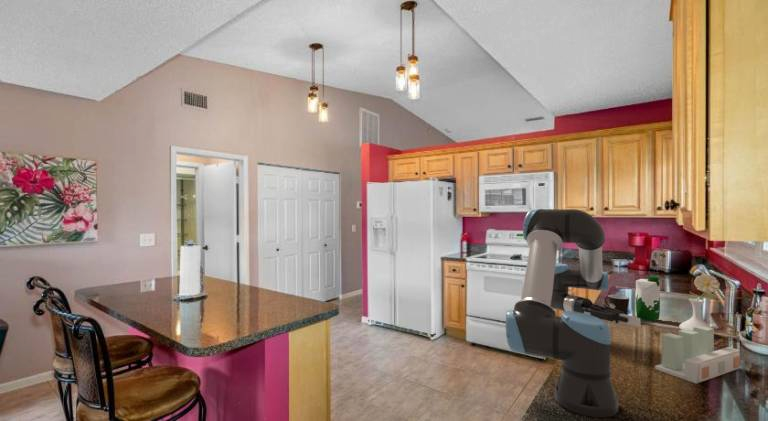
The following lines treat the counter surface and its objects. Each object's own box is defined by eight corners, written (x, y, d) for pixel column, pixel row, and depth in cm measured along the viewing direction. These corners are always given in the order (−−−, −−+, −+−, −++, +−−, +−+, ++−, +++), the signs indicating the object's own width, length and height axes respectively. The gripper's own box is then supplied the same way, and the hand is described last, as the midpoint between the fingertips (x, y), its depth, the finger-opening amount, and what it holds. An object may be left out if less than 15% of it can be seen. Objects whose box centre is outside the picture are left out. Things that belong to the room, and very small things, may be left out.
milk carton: (656, 322, 172) (656, 278, 172) (633, 318, 179) (633, 276, 179) (662, 319, 178) (662, 276, 178) (639, 314, 185) (639, 273, 185)
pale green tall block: (675, 370, 119) (675, 338, 119) (661, 365, 123) (661, 334, 123) (682, 367, 121) (683, 336, 121) (669, 363, 125) (669, 332, 125)
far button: (707, 360, 127) (707, 330, 127) (693, 356, 130) (693, 327, 130) (713, 358, 129) (713, 328, 128) (699, 354, 132) (699, 325, 132)
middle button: (691, 365, 123) (691, 334, 123) (678, 360, 127) (678, 330, 127) (698, 362, 125) (698, 332, 125) (684, 358, 128) (685, 329, 128)
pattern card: (702, 382, 113) (702, 365, 113) (699, 381, 114) (699, 364, 114) (740, 368, 122) (740, 353, 122) (737, 367, 123) (737, 352, 123)
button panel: (696, 383, 113) (696, 363, 113) (655, 368, 123) (655, 350, 123) (739, 368, 123) (739, 350, 123) (698, 355, 134) (698, 338, 134)
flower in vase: (675, 332, 159) (675, 272, 158) (683, 327, 166) (683, 269, 166) (716, 341, 148) (716, 277, 148) (722, 334, 156) (722, 273, 156)
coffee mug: (632, 320, 175) (632, 299, 175) (612, 319, 177) (612, 298, 177) (622, 314, 186) (622, 293, 186) (603, 313, 188) (603, 292, 188)
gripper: (589, 313, 156) (650, 330, 135) (567, 317, 151) (627, 336, 129) (589, 295, 156) (650, 309, 135) (567, 298, 151) (627, 314, 129)
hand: (639, 322), depth 132 cm, fingers closed
